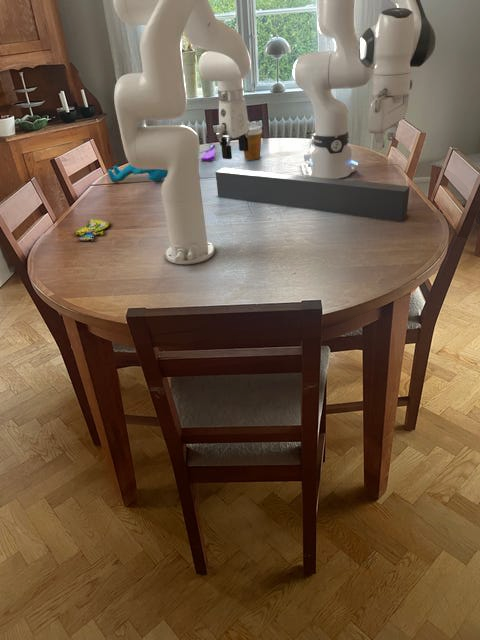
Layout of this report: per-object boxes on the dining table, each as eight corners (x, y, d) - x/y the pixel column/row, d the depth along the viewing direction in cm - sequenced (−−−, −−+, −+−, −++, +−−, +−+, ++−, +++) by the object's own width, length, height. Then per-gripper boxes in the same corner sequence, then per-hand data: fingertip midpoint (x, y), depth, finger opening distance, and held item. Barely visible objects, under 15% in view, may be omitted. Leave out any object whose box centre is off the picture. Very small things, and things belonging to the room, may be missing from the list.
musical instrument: (187, 168, 197) (231, 153, 201) (185, 163, 196) (230, 148, 200) (173, 159, 217) (213, 146, 221) (171, 155, 216) (212, 141, 220)
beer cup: (238, 160, 197) (235, 130, 191) (244, 154, 205) (242, 125, 198) (260, 160, 194) (258, 129, 188) (266, 154, 202) (264, 124, 195)
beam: (218, 196, 162) (215, 171, 157) (225, 192, 165) (223, 167, 160) (401, 221, 132) (405, 191, 127) (406, 215, 135) (410, 186, 130)
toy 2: (118, 158, 191) (184, 137, 181) (129, 184, 196) (194, 165, 186) (99, 171, 177) (170, 149, 167) (111, 198, 182) (181, 178, 172)
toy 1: (64, 237, 138) (89, 218, 150) (65, 240, 139) (90, 221, 151) (95, 238, 136) (118, 218, 148) (96, 241, 136) (119, 221, 148)
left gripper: (225, 101, 135) (230, 162, 145) (256, 91, 147) (259, 148, 156) (203, 101, 139) (210, 161, 148) (236, 91, 151) (240, 147, 160)
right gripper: (390, 92, 110) (385, 154, 117) (414, 80, 124) (408, 136, 132) (363, 92, 113) (360, 153, 120) (390, 80, 127) (386, 135, 135)
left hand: (235, 154), depth 152 cm, fingers open, 9 cm apart
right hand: (385, 144), depth 126 cm, fingers open, 8 cm apart
